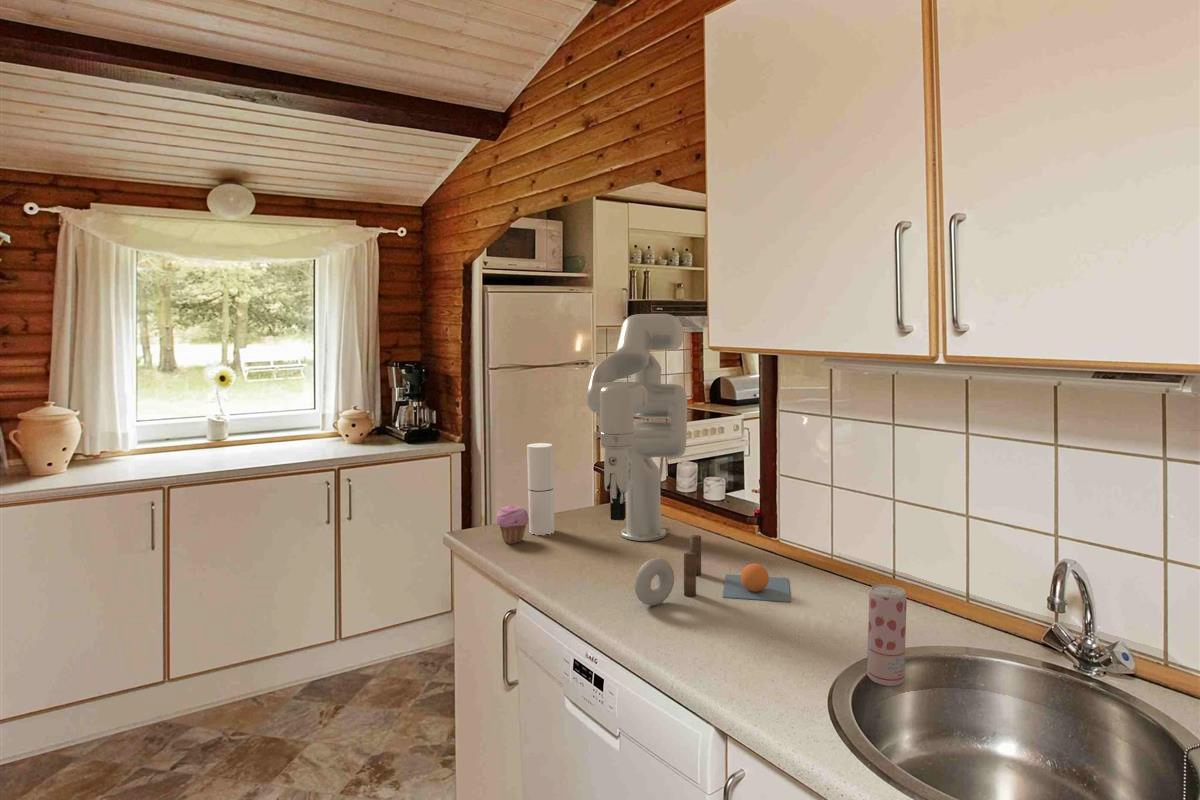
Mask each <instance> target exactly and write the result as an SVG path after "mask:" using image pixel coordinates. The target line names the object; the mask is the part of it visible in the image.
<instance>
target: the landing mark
mask: <svg viewBox="0 0 1200 800" xmlns="http://www.w3.org/2000/svg"><path fill="white" fill-rule="evenodd" d="M724 578H725V579H724V585H723V592H722V599H723V598H724V599H738V600H740V599H741V600H751V601H766V602H767V601H768V602H781V603H782V602H783V603H791V595H790V593H791V592H790V585H789V582H790V581H789V578H788V577H777V576H776V577H775V576H769V582H768V584H767V586H766V587H765V588H764V589H763V590H762V591H759V592H752V591H749V590H748V589H746V588H745V587H744V586H743V584H742V582H741V574H729V573H728V574H727V573H725V577H724Z"/></svg>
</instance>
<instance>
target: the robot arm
mask: <svg viewBox="0 0 1200 800" xmlns="http://www.w3.org/2000/svg"><path fill="white" fill-rule="evenodd" d="M683 327H684V326H683V324H682V322H681V321H680V319H679V318H677V317H676V316H675V315H672V314H668V313H640V314H639V313H637V314H636V313H635V314H633V315H630V316H628V317H627V318H626V319H624V320H623V322H622V325H621V327H620V334H619V337H618V342H617V347H616V349H615V352H613V353H611V354H610V355H608V356H607V357H605V359H603V360H602V361H601V362H599V363H598V364H597V365H596V366H595V368H594V369H593V371H592V373H591V375H590V380H589V383H588V387H587V393H586V404H587V407H588V409H589V410H590V411H591V412H593V413H595V414H599V417H600V418H599V420H600V421H599V422H600V424H599V425H600V434H599V436H600V448H602V449H604V465H603V467H604V468H603V469H604V471H603V472H604V477H603V478H604V482H603V483H604V490H605V491H606V492H607V493H609V496H610V497H609V498H610V502H609V503H610V504H609V505H610V511H609V512H610V520H611V521H624V520H625V519H626V526H625V527H623V528H622V529H620V535H621V537H623V538H624V539H627V540H631V541H638V542H651V541H657V540H661V539H663V538H666V536H667V529H666V528H664V527H662V526H661V524H662V521H661V518H662V516H661V513H662V512H661V472H660V469H659V467H658V466H657V463H656V462H655V461H654V460H653V459H652V458H672V459H673V458H674V459H675V458H681V457H682V456H683V455H684V454H685V453H686V449H687V435H688V434H687V432H688V396H687V393H686V389H685V387H684V386H682V385H680V384H675V383H662V368H661V365H660V363H659V361H658V360H657V359H656V357H655V356H654V355H653V354H652V353H651V351H671V350H672V351H673V350H674V351H675V350H678V349H679V348H680V347H681V346H682V344H683V341H684V328H683ZM626 377H627V378H628V377H630V381H617V380H620V379H622V378H623V379H624V378H626ZM634 417H637V418H642V419H643V418H644V419H667V420H669V422H658V421H657V422H655V421H637V422H636V421H634Z"/></svg>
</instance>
